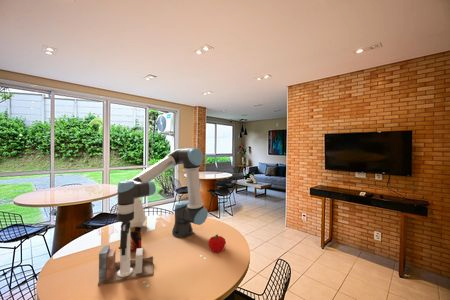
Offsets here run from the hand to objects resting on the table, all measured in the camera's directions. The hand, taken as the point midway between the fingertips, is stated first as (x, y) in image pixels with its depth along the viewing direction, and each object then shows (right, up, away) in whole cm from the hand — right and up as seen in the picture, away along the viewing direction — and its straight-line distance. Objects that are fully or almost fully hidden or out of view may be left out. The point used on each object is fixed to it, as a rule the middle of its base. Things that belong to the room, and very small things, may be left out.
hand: (125, 254), depth 101 cm
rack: (+1, -10, +1) cm, 10 cm away
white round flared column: (0, -9, 0) cm, 9 cm away
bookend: (+6, -9, +2) cm, 11 cm away
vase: (-22, -10, +58) cm, 63 cm away
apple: (+45, -11, +25) cm, 53 cm away
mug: (-6, -10, +25) cm, 28 cm away
